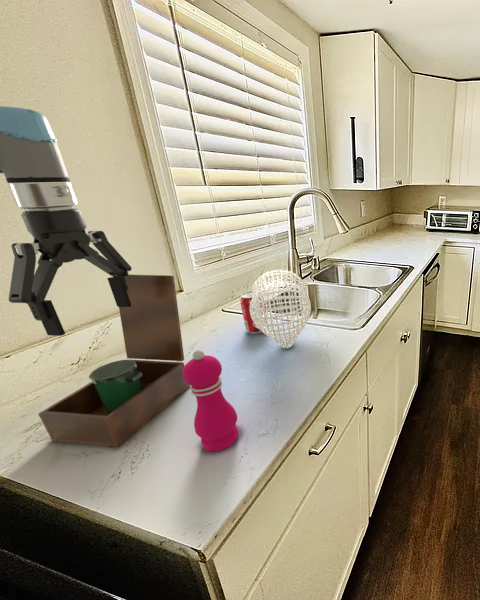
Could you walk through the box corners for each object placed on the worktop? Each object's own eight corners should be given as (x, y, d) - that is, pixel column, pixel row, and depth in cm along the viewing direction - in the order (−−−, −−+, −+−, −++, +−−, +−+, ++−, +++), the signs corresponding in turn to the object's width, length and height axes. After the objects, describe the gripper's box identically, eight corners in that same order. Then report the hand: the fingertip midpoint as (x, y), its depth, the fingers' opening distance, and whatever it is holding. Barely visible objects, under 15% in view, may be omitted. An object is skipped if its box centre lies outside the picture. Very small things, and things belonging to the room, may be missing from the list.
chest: (118, 447, 63) (106, 418, 60) (52, 441, 64) (37, 413, 62) (190, 385, 81) (183, 362, 78) (137, 382, 82) (129, 359, 80)
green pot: (90, 417, 69) (73, 378, 66) (122, 395, 76) (108, 358, 73) (133, 421, 68) (118, 380, 65) (162, 398, 75) (150, 360, 72)
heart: (261, 331, 109) (249, 267, 101) (308, 324, 114) (301, 262, 106) (258, 377, 84) (243, 296, 76) (319, 365, 89) (310, 288, 81)
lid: (171, 275, 74) (173, 275, 75) (113, 274, 75) (116, 274, 76) (181, 361, 78) (184, 360, 79) (127, 358, 79) (130, 357, 80)
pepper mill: (219, 458, 60) (193, 365, 53) (191, 448, 62) (162, 357, 55) (249, 431, 66) (229, 344, 59) (222, 422, 68) (200, 338, 61)
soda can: (255, 337, 105) (247, 299, 100) (241, 331, 109) (234, 295, 104) (273, 328, 111) (267, 293, 106) (260, 324, 114) (254, 289, 110)
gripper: (-25, 217, 45) (38, 351, 53) (132, 203, 68) (160, 297, 76) (-70, 217, 46) (-1, 349, 54) (100, 203, 69) (131, 296, 77)
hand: (94, 319), depth 65 cm, fingers open, 13 cm apart
